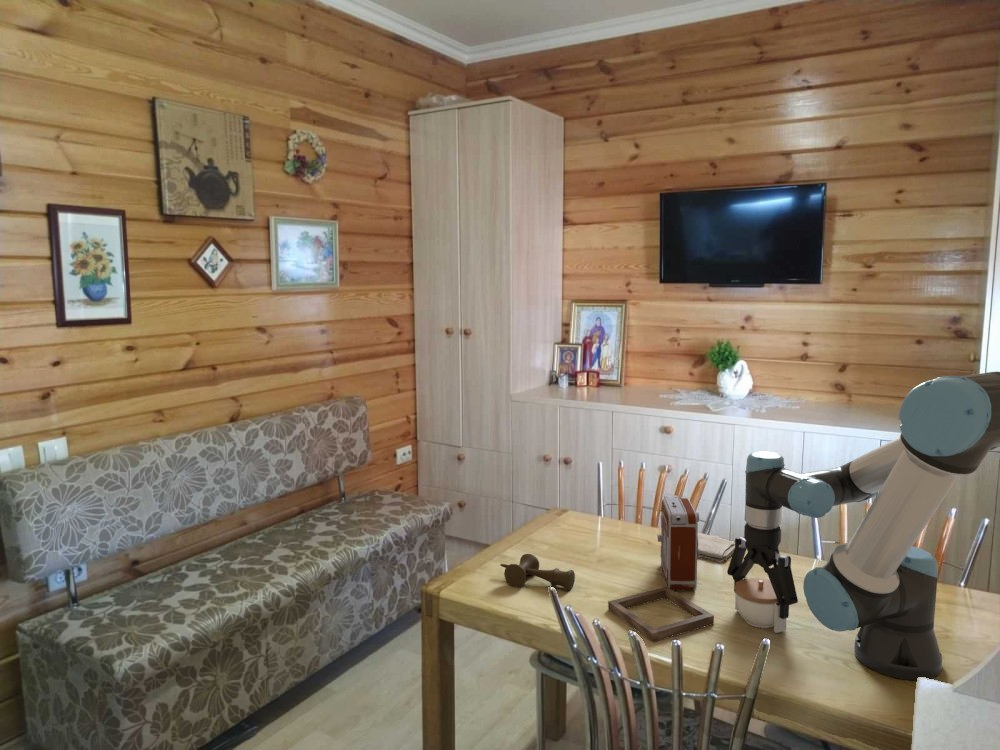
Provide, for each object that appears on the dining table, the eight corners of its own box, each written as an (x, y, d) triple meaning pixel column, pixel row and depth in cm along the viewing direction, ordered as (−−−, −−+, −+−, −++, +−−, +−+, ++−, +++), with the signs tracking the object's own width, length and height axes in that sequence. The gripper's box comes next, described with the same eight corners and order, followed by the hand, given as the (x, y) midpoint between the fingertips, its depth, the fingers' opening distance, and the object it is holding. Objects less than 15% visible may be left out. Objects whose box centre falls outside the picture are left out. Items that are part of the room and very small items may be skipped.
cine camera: (689, 561, 191) (690, 488, 188) (702, 594, 172) (703, 513, 169) (654, 560, 192) (654, 488, 189) (663, 593, 173) (663, 513, 170)
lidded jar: (734, 630, 155) (735, 589, 154) (733, 607, 165) (734, 568, 164) (787, 636, 152) (789, 594, 151) (783, 612, 162) (785, 573, 161)
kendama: (564, 600, 172) (491, 582, 181) (579, 585, 181) (508, 569, 190) (565, 576, 171) (491, 560, 181) (580, 562, 180) (508, 547, 189)
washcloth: (724, 565, 189) (725, 554, 189) (661, 550, 200) (661, 540, 200) (739, 550, 199) (739, 539, 198) (677, 537, 209) (677, 527, 209)
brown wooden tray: (713, 624, 158) (713, 615, 158) (652, 642, 151) (652, 633, 151) (665, 594, 173) (666, 586, 172) (608, 609, 166) (608, 601, 165)
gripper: (819, 537, 146) (815, 639, 150) (737, 505, 167) (734, 594, 170) (792, 544, 143) (788, 647, 147) (712, 510, 164) (710, 601, 167)
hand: (759, 619), depth 159 cm, fingers closed on lidded jar, 11 cm apart
